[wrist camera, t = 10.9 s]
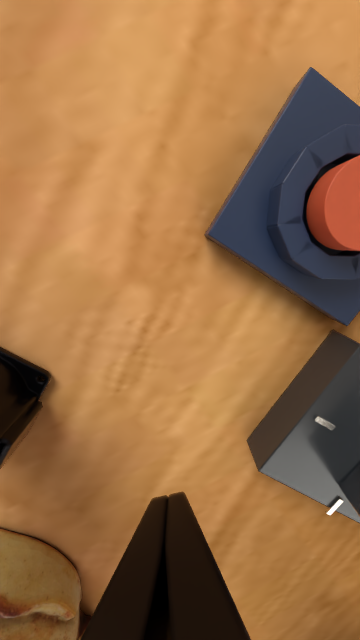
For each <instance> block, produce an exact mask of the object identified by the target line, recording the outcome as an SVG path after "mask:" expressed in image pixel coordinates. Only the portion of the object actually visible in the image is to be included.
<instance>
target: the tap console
mask: <svg viewBox="0 0 360 640" xmlns="http://www.w3.org/2000/svg"><path fill="white" fill-rule="evenodd" d="M247 442H248V445H249V448H250V450H251V453H252V456H253V458H254V461H255V463H256V466H257V469H258V471H259V472H261V473H263V474H265V475H267V476H269V477H271V478H273V479H275V480H277V481H279V482H281V483H282V484H284V485H286V486H288V487H290V488H292V489H294V490H296V491H298V492H300V493H302V494H304V495H306V496H308V497H310V498H312V499H314V500H315V501H317V502H319V503H321V504H323V505H325V506H327V507H329V508H328V509H327V510H326V511H325V512H326V514H328V515H331V514H332V513H333V512H334V511H337V512H339V513H341V514H343V515H345V516H347V517H348V518H350V519H352V520H354V521H356V522H358V523H360V516H359V515H358V514H357V512H356V511H355V509H354V508H353V506H352V505H351V503H350V502H349V500H348V499H347V497H346V496H345V495H344V493H343V492H342V490H341V489H340V487H339V485H340V484H341V483H342V482H343V481H344V480H345V479H346V478H347V476H348V475H349V474H350V473H351V472H352V471H353V470H354V469H355V468H356V467H357V466H358V465H359V464H360V343H358V342H356V341H354V340H352V339H350V338H348V337H346V336H345V335H343V334H341V333H339V332H337V331H335V330H332V331H331V332H330V334H329V335H328V336H327V338H326V339H325V340H324V341H323V343H322V344H321V345H320V347H319V348H318V349H317V350H316V352H315V353H314V354H313V356H312V357H311V358H310V359H309V361H308V362H307V363H306V364H305V366H304V367H303V368H302V370H301V371H300V372H299V373H298V375H297V376H296V377H295V379H294V380H293V381H292V382H291V384H290V385H289V386H288V388H287V389H286V390H285V391H284V393H283V394H282V395H281V397H280V398H279V399H278V400H277V402H276V403H275V404H274V406H273V407H272V408H271V409H270V411H269V412H268V413H267V415H266V416H265V417H264V418H263V420H262V421H261V422H260V424H259V425H258V426H257V427H256V429H255V430H254V431H253V433H252V434H251V435H250V436H249V438H248V439H247Z"/></svg>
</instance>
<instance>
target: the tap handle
mask: <svg viewBox="0 0 360 640" xmlns="http://www.w3.org/2000/svg"><path fill="white" fill-rule="evenodd" d="M339 487H340V489H341V490H342V492H343V493H344V495H345V496H346V497H347V499H348V500H349V502H350V503H351V505H352V506H353V508H354V509H355V511H356V512H357V514H358V515H359V516H360V464H359V465H358V466H357V467H356V468H355V469H354V470H353V471H352V472H351V473H350V474H349V475H348V476H347V478H346V479H345V480H344V481H343V482H342V483H341V484H340V485H339Z"/></svg>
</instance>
